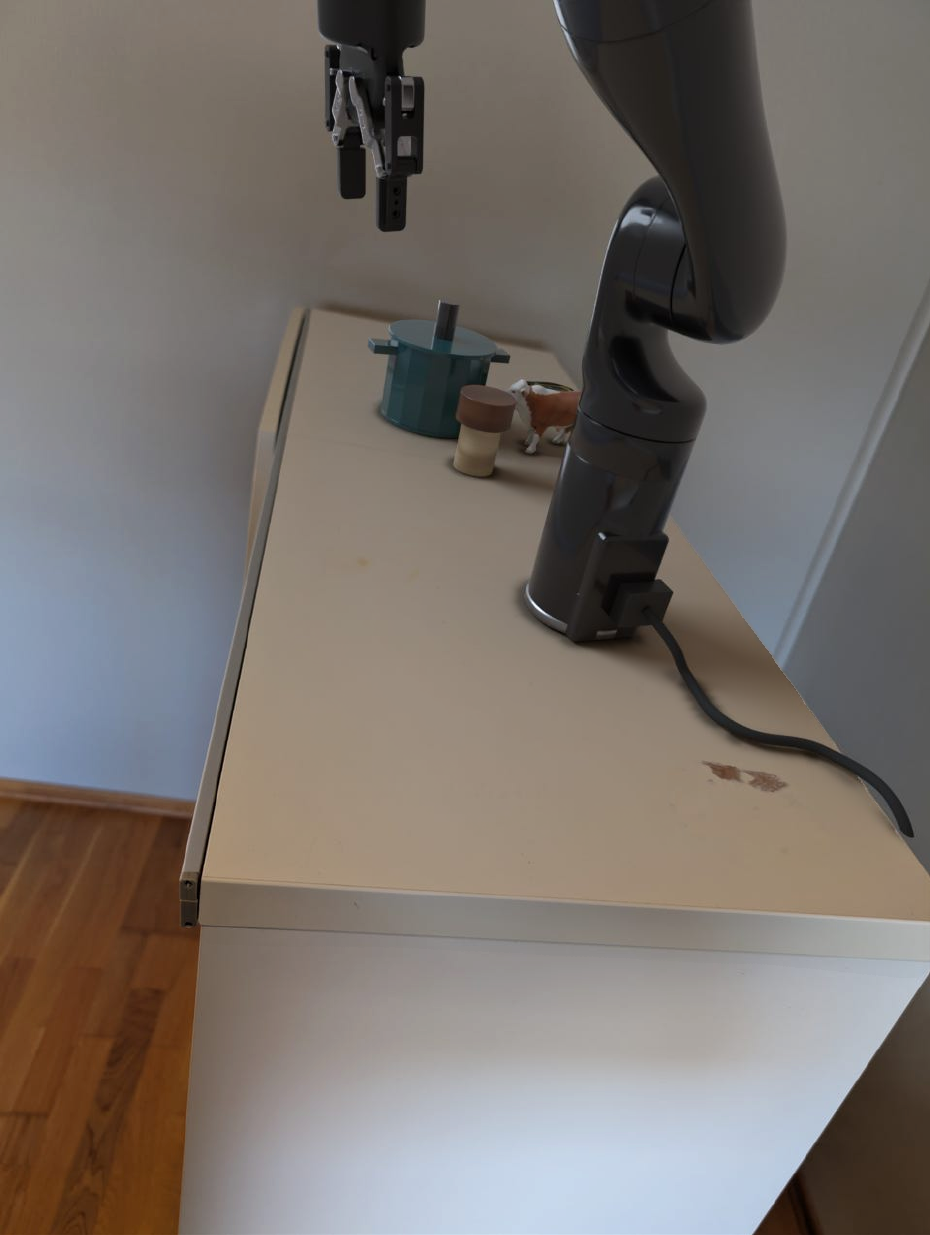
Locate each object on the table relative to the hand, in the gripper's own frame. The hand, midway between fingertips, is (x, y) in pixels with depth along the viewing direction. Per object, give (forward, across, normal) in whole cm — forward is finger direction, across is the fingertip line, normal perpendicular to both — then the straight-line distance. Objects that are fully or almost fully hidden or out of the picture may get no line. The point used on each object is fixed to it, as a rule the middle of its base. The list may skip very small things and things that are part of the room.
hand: (370, 213), depth 69 cm
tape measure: (+33, -21, +33) cm, 51 cm away
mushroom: (+28, -4, +14) cm, 32 cm away
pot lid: (+20, -19, +16) cm, 32 cm away
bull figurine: (+31, -10, +26) cm, 42 cm away
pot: (+30, -18, +15) cm, 38 cm away
